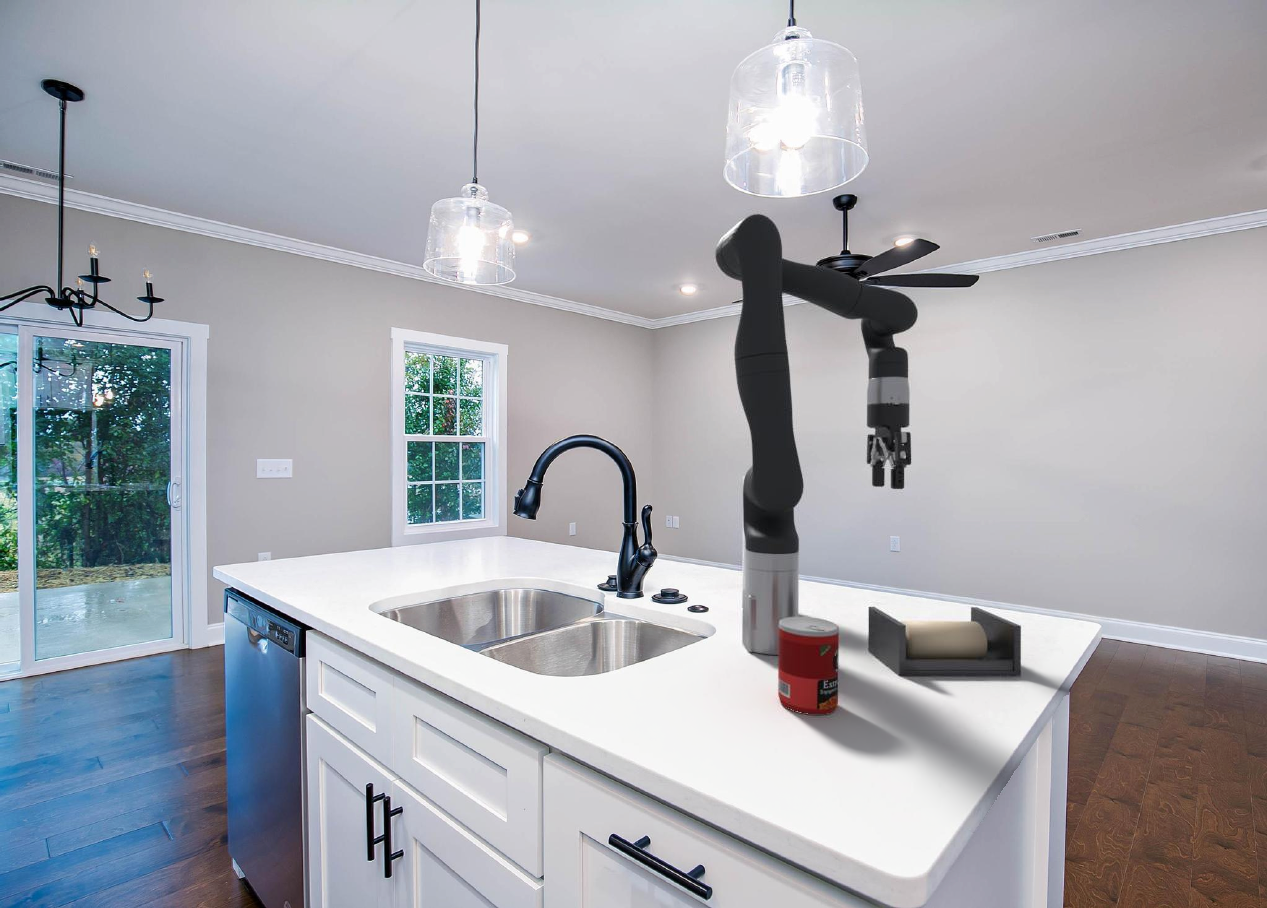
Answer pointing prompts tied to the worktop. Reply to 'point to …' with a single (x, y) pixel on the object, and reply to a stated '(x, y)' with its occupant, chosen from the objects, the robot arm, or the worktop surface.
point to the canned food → (808, 664)
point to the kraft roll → (945, 640)
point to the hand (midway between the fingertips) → (887, 487)
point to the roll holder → (998, 660)
